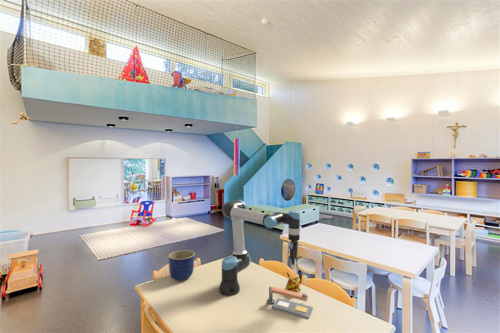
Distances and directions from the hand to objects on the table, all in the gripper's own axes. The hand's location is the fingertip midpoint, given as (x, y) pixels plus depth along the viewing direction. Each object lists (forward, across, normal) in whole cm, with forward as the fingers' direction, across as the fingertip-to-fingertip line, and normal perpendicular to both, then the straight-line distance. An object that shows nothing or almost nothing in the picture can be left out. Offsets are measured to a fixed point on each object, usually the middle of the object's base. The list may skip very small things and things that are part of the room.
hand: (293, 268), depth 169 cm
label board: (+22, -9, -2) cm, 24 cm away
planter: (+23, -9, +91) cm, 94 cm away
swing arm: (+21, -9, +1) cm, 23 cm away
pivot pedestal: (+22, -9, +13) cm, 27 cm away
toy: (+23, +13, +4) cm, 26 cm away
